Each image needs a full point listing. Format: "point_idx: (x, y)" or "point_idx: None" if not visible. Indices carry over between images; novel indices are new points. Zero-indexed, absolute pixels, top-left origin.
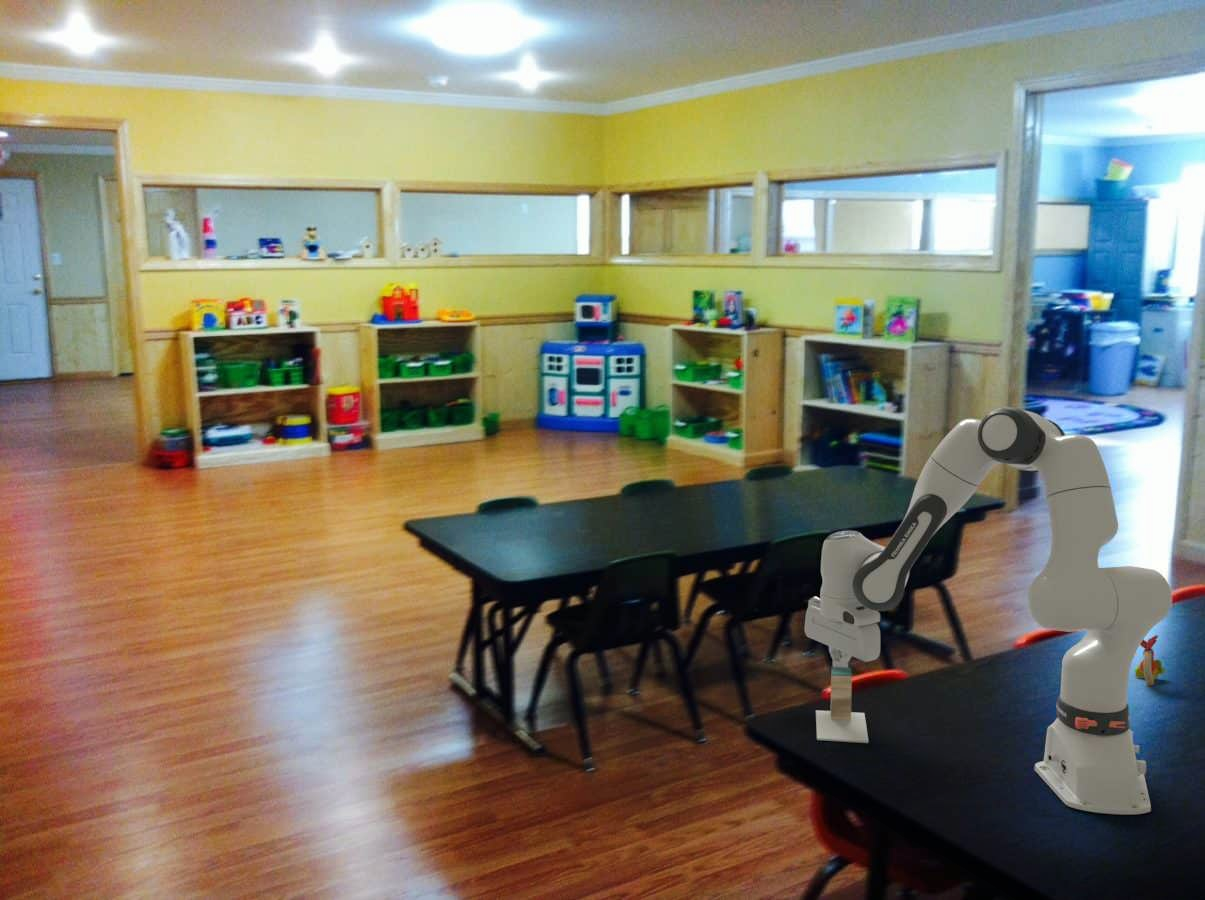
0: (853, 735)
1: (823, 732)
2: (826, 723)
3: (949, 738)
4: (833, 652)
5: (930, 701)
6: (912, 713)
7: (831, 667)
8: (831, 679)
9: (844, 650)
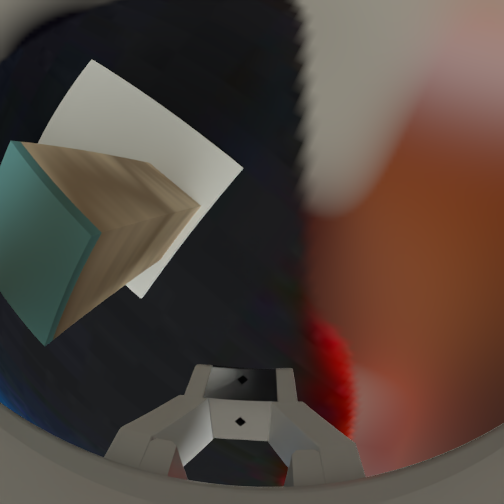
0: None
1: (101, 89)
2: (136, 130)
3: (14, 334)
4: (306, 449)
5: None
6: (113, 388)
7: (76, 220)
8: (89, 180)
9: (42, 451)
